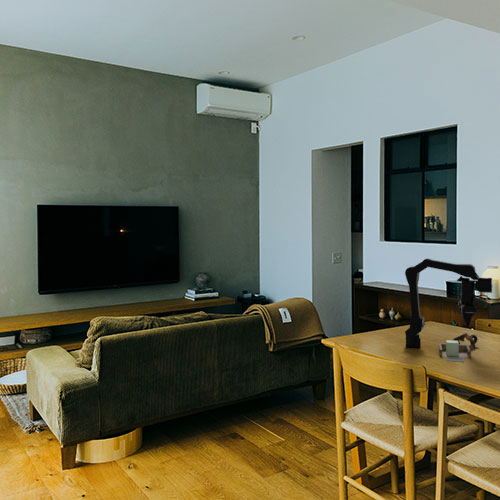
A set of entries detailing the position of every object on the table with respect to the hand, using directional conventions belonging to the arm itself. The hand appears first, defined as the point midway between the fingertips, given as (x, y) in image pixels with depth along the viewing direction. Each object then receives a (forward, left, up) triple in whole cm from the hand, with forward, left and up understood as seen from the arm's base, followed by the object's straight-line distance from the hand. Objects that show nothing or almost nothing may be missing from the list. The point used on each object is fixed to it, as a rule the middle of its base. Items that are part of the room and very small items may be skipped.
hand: (466, 324), depth 240 cm
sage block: (-6, -7, -13) cm, 16 cm away
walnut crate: (-5, -5, -13) cm, 15 cm away
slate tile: (-6, -16, -13) cm, 21 cm away
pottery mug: (+1, +11, -14) cm, 17 cm away
